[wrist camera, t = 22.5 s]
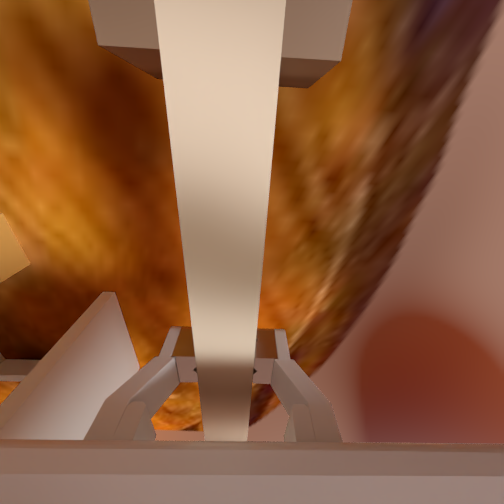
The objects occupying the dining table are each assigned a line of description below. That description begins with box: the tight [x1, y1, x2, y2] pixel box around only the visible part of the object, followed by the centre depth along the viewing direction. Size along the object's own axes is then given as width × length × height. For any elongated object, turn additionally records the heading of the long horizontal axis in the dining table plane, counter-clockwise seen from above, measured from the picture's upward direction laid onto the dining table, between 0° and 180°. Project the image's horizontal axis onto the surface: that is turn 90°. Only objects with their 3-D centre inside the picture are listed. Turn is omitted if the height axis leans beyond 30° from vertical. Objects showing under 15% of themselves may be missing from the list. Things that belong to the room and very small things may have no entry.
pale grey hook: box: [88, 0, 352, 441], centre depth 12 cm, size 35×12×3 cm, turn 177°
